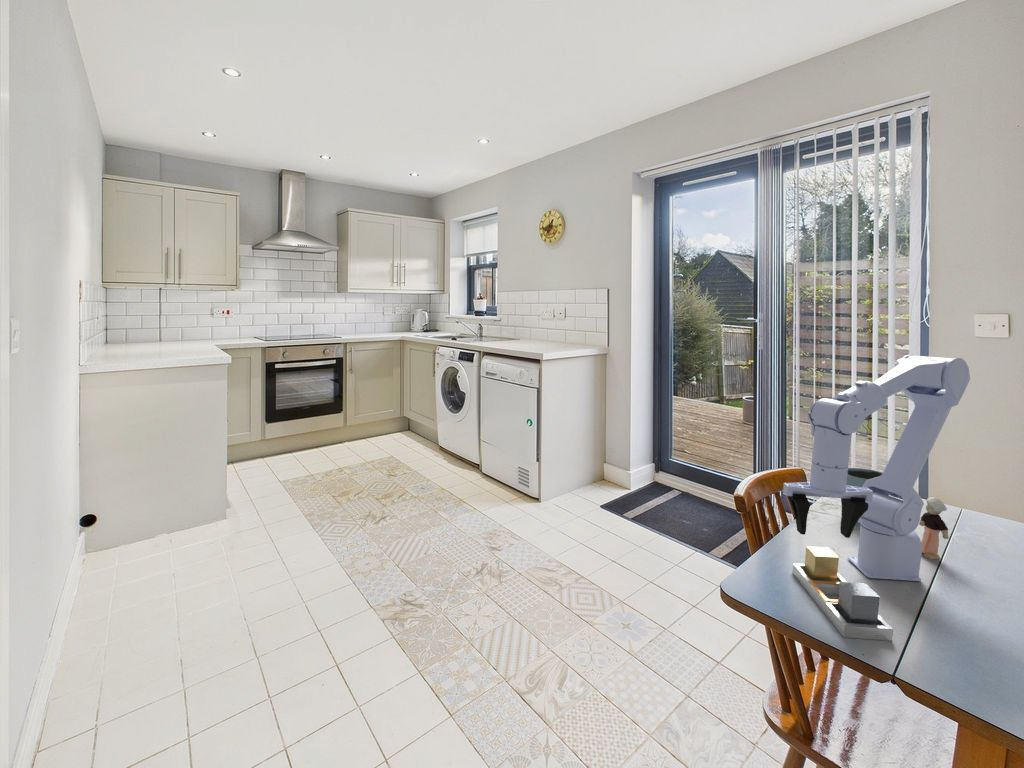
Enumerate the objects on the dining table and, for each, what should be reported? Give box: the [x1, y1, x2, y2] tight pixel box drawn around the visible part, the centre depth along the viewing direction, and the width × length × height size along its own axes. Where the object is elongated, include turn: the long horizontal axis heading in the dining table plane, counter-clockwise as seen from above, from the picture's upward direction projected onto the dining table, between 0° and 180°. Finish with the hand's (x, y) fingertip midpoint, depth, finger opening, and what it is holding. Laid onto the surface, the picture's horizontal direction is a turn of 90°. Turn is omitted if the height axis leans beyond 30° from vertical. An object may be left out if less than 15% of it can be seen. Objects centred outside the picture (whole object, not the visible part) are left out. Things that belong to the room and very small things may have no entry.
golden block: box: [804, 545, 840, 582], centre depth 94 cm, size 4×4×6 cm
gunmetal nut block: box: [837, 581, 881, 625], centre depth 81 cm, size 4×4×6 cm
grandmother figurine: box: [919, 496, 950, 560], centre depth 104 cm, size 8×4×13 cm, turn 5°
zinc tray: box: [791, 562, 894, 642], centre depth 88 cm, size 7×20×2 cm, turn 172°
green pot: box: [840, 467, 890, 527], centre depth 122 cm, size 10×10×12 cm
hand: (822, 533), depth 93 cm, fingers open, 7 cm apart
